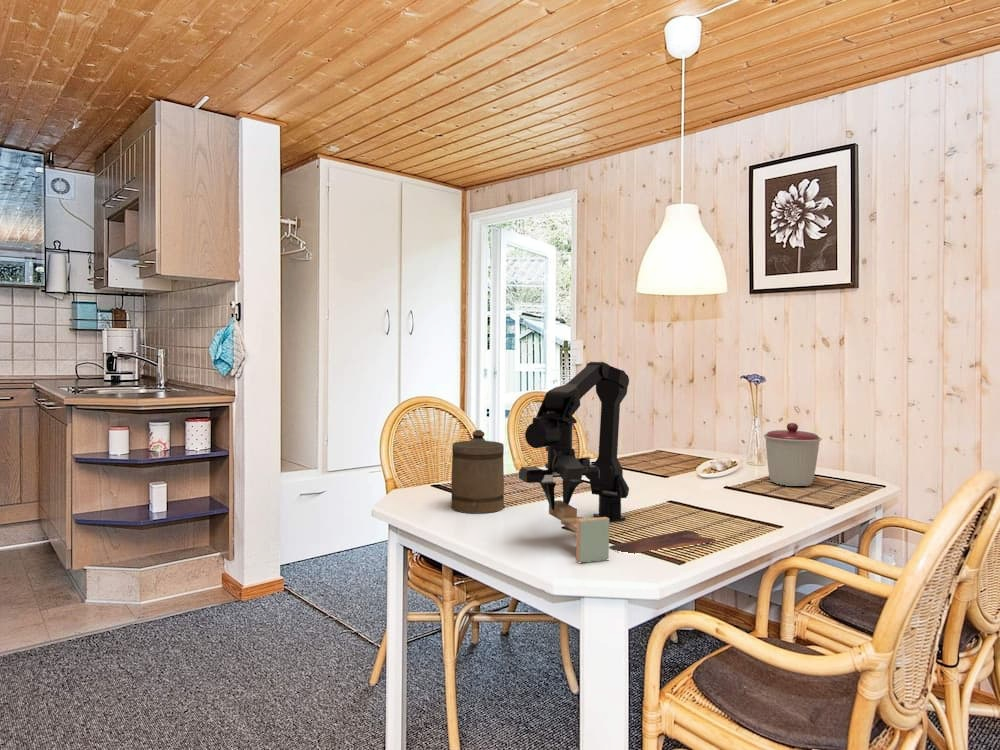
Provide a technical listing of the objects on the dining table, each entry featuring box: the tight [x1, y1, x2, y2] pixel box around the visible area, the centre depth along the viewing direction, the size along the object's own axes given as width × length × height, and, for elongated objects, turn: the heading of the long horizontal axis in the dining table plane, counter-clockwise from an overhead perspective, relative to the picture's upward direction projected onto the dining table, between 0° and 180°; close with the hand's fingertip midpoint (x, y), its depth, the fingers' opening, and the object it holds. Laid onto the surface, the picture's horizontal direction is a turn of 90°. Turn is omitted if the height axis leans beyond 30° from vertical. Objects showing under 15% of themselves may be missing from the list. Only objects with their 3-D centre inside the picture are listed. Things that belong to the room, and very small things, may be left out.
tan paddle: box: [548, 499, 586, 534], centre depth 147 cm, size 17×5×3 cm, turn 19°
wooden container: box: [450, 429, 505, 514], centre depth 183 cm, size 15×15×22 cm
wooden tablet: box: [609, 530, 717, 554], centre depth 150 cm, size 26×2×10 cm
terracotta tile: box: [575, 517, 610, 563], centre depth 137 cm, size 2×7×9 cm, turn 110°
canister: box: [763, 422, 823, 487], centre depth 220 cm, size 18×18×21 cm
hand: (558, 509), depth 153 cm, fingers closed on tan paddle, 3 cm apart
